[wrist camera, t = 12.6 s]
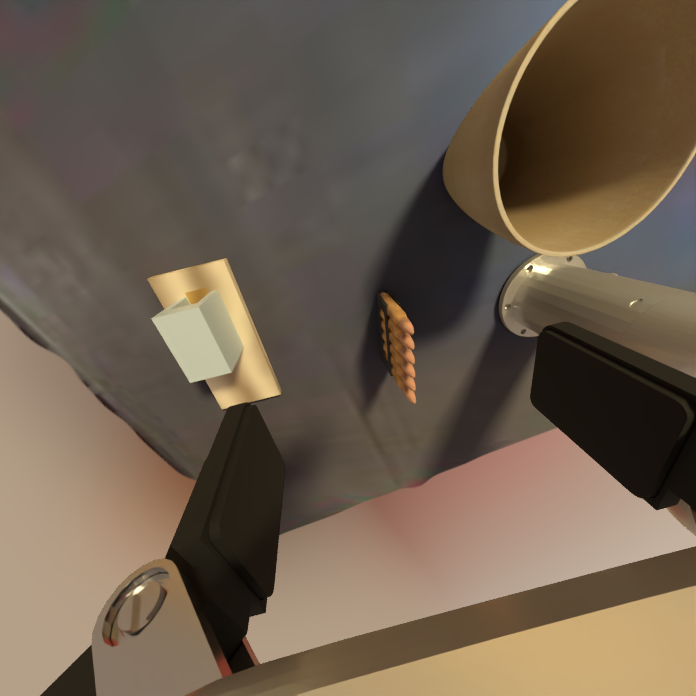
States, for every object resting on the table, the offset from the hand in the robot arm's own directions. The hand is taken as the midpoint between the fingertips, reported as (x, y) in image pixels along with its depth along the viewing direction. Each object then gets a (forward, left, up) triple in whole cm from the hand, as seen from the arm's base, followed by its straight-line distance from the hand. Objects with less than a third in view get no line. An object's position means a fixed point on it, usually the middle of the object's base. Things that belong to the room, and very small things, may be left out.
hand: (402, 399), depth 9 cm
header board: (+17, +7, -28) cm, 34 cm away
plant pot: (-18, -6, -28) cm, 34 cm away
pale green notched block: (+17, +4, -27) cm, 32 cm away
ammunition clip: (-5, +11, -29) cm, 31 cm away
